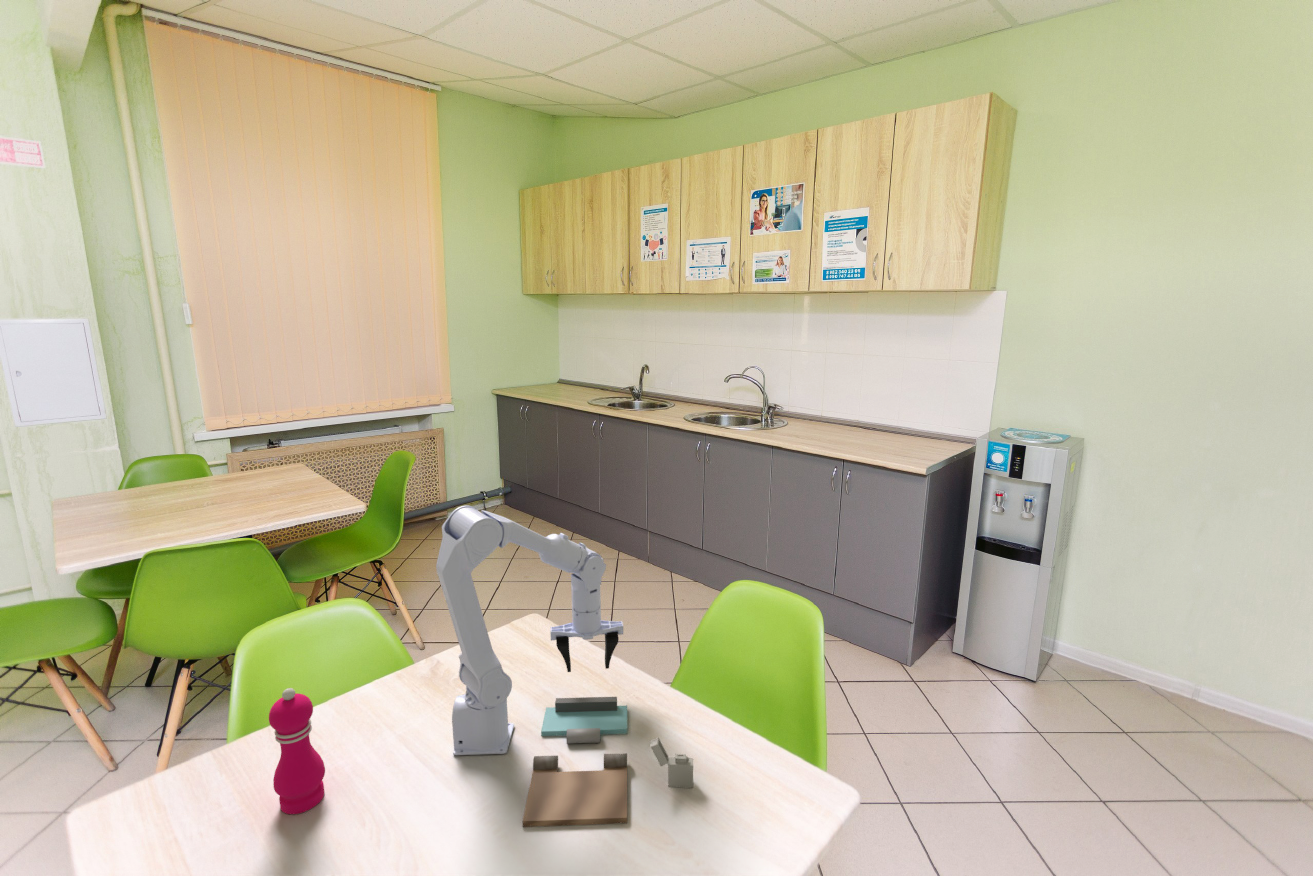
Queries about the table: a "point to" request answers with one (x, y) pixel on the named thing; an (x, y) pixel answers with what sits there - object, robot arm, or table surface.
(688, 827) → the table surface
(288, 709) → the pepper mill
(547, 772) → the fixed leaf
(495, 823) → the table surface
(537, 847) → the table surface
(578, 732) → the teal hinge plate
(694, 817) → the table surface
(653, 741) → the lighter
